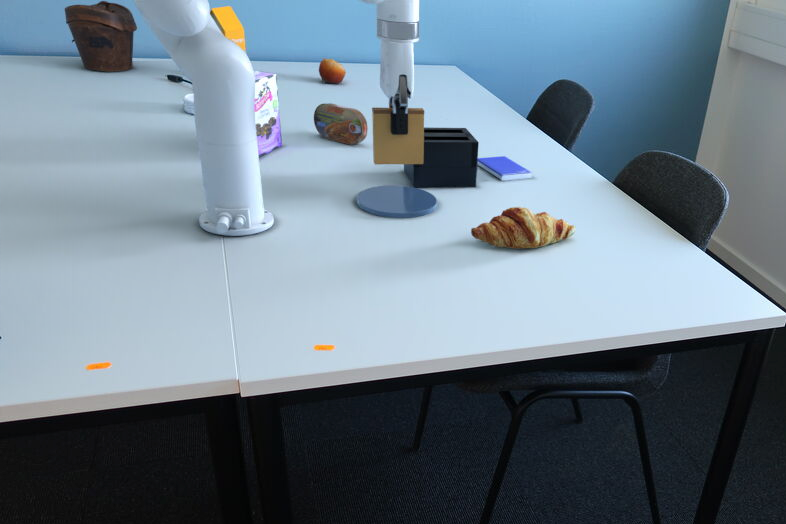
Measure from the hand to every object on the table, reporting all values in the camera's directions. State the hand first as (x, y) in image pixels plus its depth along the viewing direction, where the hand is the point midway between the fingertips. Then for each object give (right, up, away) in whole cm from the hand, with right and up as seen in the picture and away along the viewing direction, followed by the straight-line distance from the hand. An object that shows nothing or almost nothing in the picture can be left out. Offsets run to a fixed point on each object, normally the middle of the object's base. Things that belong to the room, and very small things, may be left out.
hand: (398, 131), depth 145 cm
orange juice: (-66, +39, +79) cm, 110 cm away
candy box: (-37, +3, +26) cm, 46 cm away
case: (-101, +43, +77) cm, 134 cm away
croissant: (+25, -22, -3) cm, 33 cm away
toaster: (+5, -4, +23) cm, 24 cm away
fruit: (-38, +43, +90) cm, 106 cm away
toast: (-1, -5, +3) cm, 6 cm away
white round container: (-60, +20, +49) cm, 80 cm away
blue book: (+19, 0, +33) cm, 38 cm away
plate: (-2, -12, +7) cm, 15 cm away
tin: (-22, +10, +40) cm, 46 cm away
